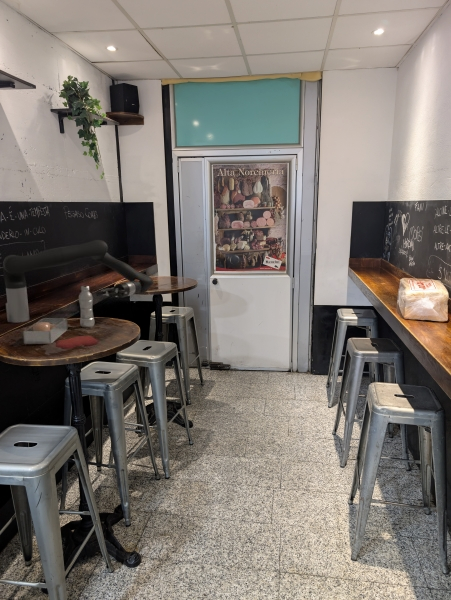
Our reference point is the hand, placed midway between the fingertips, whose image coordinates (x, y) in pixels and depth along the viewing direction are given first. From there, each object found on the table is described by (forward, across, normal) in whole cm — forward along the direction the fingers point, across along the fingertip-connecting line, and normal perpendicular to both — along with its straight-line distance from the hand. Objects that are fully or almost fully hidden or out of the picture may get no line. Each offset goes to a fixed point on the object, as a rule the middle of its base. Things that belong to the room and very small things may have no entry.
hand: (103, 295), depth 210 cm
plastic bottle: (+12, 0, +14) cm, 18 cm away
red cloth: (+33, +15, +14) cm, 39 cm away
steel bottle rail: (+33, -3, +13) cm, 35 cm away
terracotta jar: (+37, 0, +13) cm, 39 cm away
